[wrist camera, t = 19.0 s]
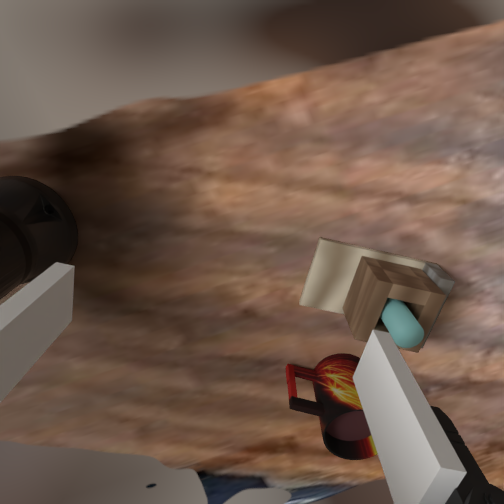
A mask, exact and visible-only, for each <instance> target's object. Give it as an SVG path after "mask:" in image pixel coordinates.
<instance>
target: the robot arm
mask: <svg viewBox="0 0 504 504" xmlns="http://www.w3.org/2000/svg"><path fill="white" fill-rule="evenodd" d="M77 241H78V233H77V227H76V223H75V220H74V217H73V215H72V213H71V211H70V209H69V208H68V206H67V205H66V204H65V202H64V201H63V200H62V199H61V198H60V197H59V196H58V195H57V194H56V193H55V192H54V191H53V190H51V189H50V188H48V187H47V186H45V185H44V184H42V183H40V182H38V181H35V180H32V179H29V178H26V177H20V176H6V177H1V178H0V299H1V298H3V297H4V296H5V295H7V294H8V293H9V292H10V291H12V290H13V289H14V288H15V287H17V286H18V285H20V284H24V283H28V282H30V283H29V284H27V285H26V286H25V287H23V288H22V289H21V290H20V291H18V292H17V293H16V294H14V295H13V296H12V297H11V298H9V299H8V300H7V301H5V302H4V303H3V304H1V305H0V402H1V401H2V400H3V399H4V398H5V397H6V396H7V394H8V393H9V392H10V391H11V390H12V389H13V388H14V386H15V385H16V384H17V383H18V382H19V381H20V380H21V378H22V377H23V376H24V375H25V374H26V373H27V372H28V370H29V369H30V368H31V367H32V366H33V365H34V364H35V362H36V361H37V360H38V359H39V358H40V357H41V356H42V354H43V353H44V352H45V351H46V350H47V349H48V347H49V346H50V345H51V344H52V343H53V342H54V341H55V339H56V338H57V337H58V336H59V335H60V334H61V333H62V331H63V330H64V329H65V328H66V327H67V326H68V325H69V323H70V322H71V321H72V309H73V289H74V269H75V266H72V265H68V264H67V263H68V262H69V261H70V260H71V258H72V257H73V255H74V253H75V250H76V247H77ZM353 381H354V384H355V387H356V390H357V393H358V396H359V399H360V402H361V405H362V408H363V411H364V414H365V417H366V420H367V423H368V426H369V429H370V432H371V435H372V438H373V441H374V444H375V447H376V450H377V453H378V456H379V459H380V462H381V465H382V468H383V471H384V474H385V477H386V480H387V483H388V486H389V489H390V492H391V495H392V498H393V501H394V504H504V491H502V490H501V489H499V488H497V487H496V486H494V485H492V484H489V483H488V481H487V480H486V478H485V476H484V474H483V473H482V471H481V469H480V468H479V466H478V464H477V463H476V461H475V459H474V458H473V456H472V454H471V453H470V451H469V449H468V448H467V446H465V443H464V441H463V439H462V438H461V436H460V435H458V431H457V429H456V428H455V426H454V424H453V423H452V421H451V420H450V418H449V417H448V416H447V415H446V414H445V413H444V412H443V411H442V410H441V409H440V408H438V407H433V406H430V405H429V403H428V402H427V400H426V398H425V396H424V394H423V393H422V391H421V389H420V387H419V385H418V384H417V382H416V380H415V378H414V376H413V375H412V373H411V371H410V369H409V367H408V366H407V364H406V362H405V360H404V358H403V357H402V355H401V353H400V351H399V349H398V348H397V346H396V344H395V342H394V340H393V339H392V337H391V335H390V333H387V332H383V331H378V330H372V333H371V335H370V337H369V340H368V342H367V345H366V347H365V349H364V352H363V354H362V356H361V359H360V361H359V364H358V366H357V368H356V371H355V373H354V375H353Z"/></svg>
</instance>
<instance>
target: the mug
mask: <svg viewBox="0 0 504 504" xmlns="http://www.w3.org/2000/svg"><path fill="white" fill-rule="evenodd" d="M359 361H360V358H358V357H356V356H354V355H351V354H334V355H331V356H328V357H326V358H324V359H323V360H322V361H320V362H319V363H318V364H317V366H316V367H315V369H314V370H310V369H306V368H302V367H298V366H294V365H291V364H287V366H286V378H287V384H288V394H289V405H290V409H293V410H296V411H300V412H304V413H308V414H312V415H317V416H319V419H320V425H321V430H322V436H323V441H324V444H325V446H326V448H327V449H328V450H329V451H330V452H331V453H333V454H334V455H336V456H338V457H340V458H344V459H349V460H361V459H367V458H370V457H373V456H375V455H377V454H378V453H377V450H376V447H375V444H374V441H373V438H372V435H371V432H370V429H369V426H368V423H367V420H366V417H365V414H364V411H363V408H362V405H361V402H360V399H359V396H358V393H357V390H356V387H355V384H354V381H353V375H354V373H355V371H356V368H357V366H358V364H359ZM295 377H299V378H303V379H307V380H311V381H313V386H314V392H315V397H316V402H313V401H309V400H305V399H301V398H297V390H296V382H295Z"/></svg>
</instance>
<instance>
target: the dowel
mask: <svg viewBox="0 0 504 504" xmlns="http://www.w3.org/2000/svg"><path fill="white" fill-rule="evenodd" d="M380 317H381V319H382V321H383V322H384V324H385V326H386V328H387V329H388V331H389V333H390V335H391V337H392V338H393V340H394V342H395V343H396V344H397V345H398V346H399V347H402V348H411V347H414V346H416V345H418V344H419V343H420V342H421V341H422V339H423V337H424V330H423V328H422V327H421V325H420V324H419V323H418V321H417V320H416V319H415V317H414V316H413V314H412V313H411V312H410V310H409V309H408V307H407V306H406V305H405V303H404V302H403V301H401V300H397V299H392V298H387V300H386V303H385V305H384V307H383V310H382V312H381V314H380Z"/></svg>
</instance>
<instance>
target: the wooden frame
mask: <svg viewBox="0 0 504 504" xmlns="http://www.w3.org/2000/svg"><path fill="white" fill-rule="evenodd" d="M361 256H366V257H370V258H375V259H379V260H384V261H388V262H392V263H397V264H401V265H406V266H410V267H415V268H419V269H421V270H422V271H423V272H424V273H425V274H426V275H427V276H428V277H429V278H430V279H431V280H432V281H433V282H434V283H435V284H436V285H437V286H438V287H439V288H440V289H441V290H442V291H443V293H444V294H445V295H446V297H445V299H444V301H443V303H442V305H441V307H440V309H439V311H438V314H437V316H436V318H435V320H434V322H433V324H432V326H431V328H430V330H429V332H428V334H427V336H426V338H425V340H424V342H423V344H422V346H421V348H423V346H424V344H425V342H426V340H427V338H428V336H429V334H430V332H431V330H432V328H433V326H434V324H435V322H436V320H437V318H438V316H439V314H440V312H441V309H442V307H443V305H444V303H445V301H446V299H447V297H448V295H449V293H450V291H451V289H452V287H453V285H454V283H455V281H454V280H453V279H452V278H451V277H450V276H449V275H448V274H447V273H445V272H444V271H443V270H442V269H441V268H440V266H439V265H438V264H436V263H432V262H428V261H423V260H419V259H414V258H410V257H406V256H401V255H397V254H392V253H388V252H384V251H379V250H375V249H370V248H366V247H361V246H357V245H353V244H348V243H344V242H339V241H335V240H331V239H326V238H322V237H319V240H318V244H317V247H316V250H315V253H314V256H313V259H312V262H311V266H310V269H309V272H308V275H307V278H306V281H305V284H304V288H303V291H302V294H301V297H300V300H299V304H300V305H303V306H307V307H312V308H317V309H321V310H326V311H331V312H335V313H340V314H344V311H343V309H342V307H343V305H344V302H345V299H346V297H347V294H348V291H349V289H350V286H351V283H352V281H353V278H354V275H355V273H356V270H357V267H358V265H359V262H360V259H361Z"/></svg>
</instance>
